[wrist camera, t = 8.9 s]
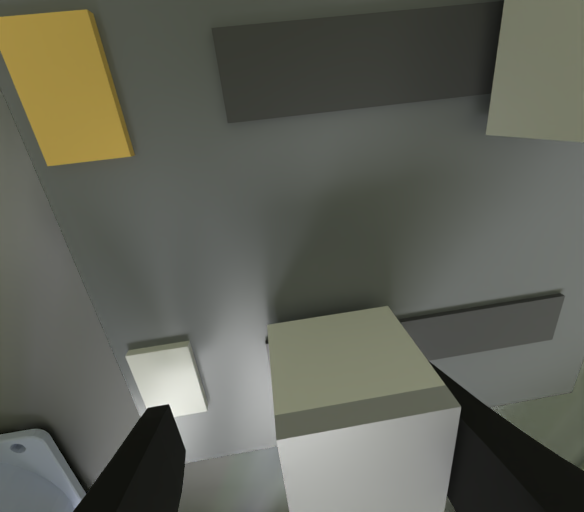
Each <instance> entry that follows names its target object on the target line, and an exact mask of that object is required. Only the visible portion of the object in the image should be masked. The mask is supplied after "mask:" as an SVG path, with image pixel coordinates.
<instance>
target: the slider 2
mask: <svg viewBox="0 0 584 512" xmlns="http://www.w3.org/2000/svg"><path fill="white" fill-rule="evenodd" d="M486 135H492V136H505V137H519V138H532V139H545V140H558V141H572V142H584V0H504V6H503V13H502V21H501V28H500V35H499V42H498V49H497V57H496V64H495V71H494V78H493V85H492V93H491V100H490V107H489V114H488V121H487V129H486Z"/></svg>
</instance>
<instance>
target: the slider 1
mask: <svg viewBox="0 0 584 512" xmlns="http://www.w3.org/2000/svg"><path fill="white" fill-rule="evenodd" d="M267 330H268V342H269V355H270V367H271V380H272V392H273V405H274V417H275V429H276V441H277V447H278V452H279V457H280V463H281V468H282V474H283V479H284V485H285V490H286V496H287V501H288V507H289V512H444V510H445V504H446V498H447V492H448V486H449V479H450V473H451V467H452V461H453V455H454V449H455V443H456V436H457V430H458V424H459V418H460V412H461V405H460V404H459V403H458V401H457V400H456V399H455V397H454V396H453V394H452V393H451V392H450V390H449V389H448V388H447V386H446V385H445V384H444V382H443V381H442V379H441V378H440V377H439V375H438V374H437V373H436V371H435V370H434V368H433V367H432V366H431V364H430V363H429V362H428V360H427V359H426V357H425V356H424V355H423V353H422V352H421V351H420V349H419V348H418V346H417V345H416V344H415V342H414V341H413V340H412V338H411V337H410V335H409V334H408V333H407V331H406V330H405V329H404V327H403V326H402V325H401V323H400V322H399V320H398V319H397V318H396V316H395V315H394V314H393V312H392V311H391V309H390V308H389V307H388V306H383V307H377V308H371V309H364V310H358V311H352V312H345V313H339V314H333V315H326V316H320V317H314V318H307V319H301V320H295V321H288V322H282V323H275V324H269V325H267Z"/></svg>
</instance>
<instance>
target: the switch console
mask: <svg viewBox="0 0 584 512" xmlns="http://www.w3.org/2000/svg"><path fill="white" fill-rule="evenodd" d="M503 6H504V0H0V89H1V91H2V93H3V96H4V98H5V100H6V103H7V105H8V107H9V110H10V112H11V114H12V117H13V119H14V121H15V124H16V126H17V128H18V131H19V133H20V135H21V138H22V140H23V143H24V145H25V147H26V150H27V152H28V154H29V157H30V159H31V161H32V164H33V166H34V168H35V171H36V173H37V175H38V178H39V180H40V182H41V185H42V187H43V189H44V192H45V194H46V197H47V199H48V201H49V204H50V206H51V208H52V211H53V213H54V215H55V218H56V220H57V222H58V225H59V227H60V229H61V232H62V234H63V236H64V239H65V241H66V243H67V246H68V248H69V251H70V253H71V255H72V258H73V260H74V262H75V265H76V267H77V269H78V272H79V274H80V276H81V279H82V281H83V283H84V286H85V288H86V290H87V293H88V295H89V297H90V300H91V302H92V305H93V307H94V309H95V312H96V314H97V316H98V319H99V321H100V323H101V326H102V328H103V330H104V333H105V335H106V337H107V340H108V342H109V344H110V347H111V349H112V351H113V354H114V356H115V359H116V361H117V363H118V366H119V368H120V370H121V373H122V375H123V377H124V380H125V382H126V384H127V387H128V389H129V391H130V394H131V396H132V398H133V401H134V403H135V405H136V408H137V410H138V413H139V415H140V417H141V416H142V415H143V413H144V412H145V411H146V409H147V408H149V407H155V406H161V405H166V404H169V405H170V408H171V411H172V413H173V416H174V419H175V422H176V424H177V427H178V430H179V433H180V435H181V438H182V441H183V444H184V446H185V449H186V456H185V463H191V462H196V461H202V460H207V459H212V458H218V457H223V456H229V455H234V454H240V453H245V452H251V451H256V450H261V449H267V448H272V447H277V441H276V429H275V417H274V405H273V392H272V380H271V367H270V355H269V342H268V330H267V325H269V324H275V323H282V322H288V321H295V320H301V319H307V318H314V317H320V316H326V315H333V314H339V313H345V312H352V311H358V310H364V309H371V308H377V307H383V306H388V307H389V308H390V309H391V311H392V312H393V314H394V315H395V316H396V318H397V319H398V320H399V322H400V323H401V325H402V326H403V327H404V329H405V330H406V331H407V333H408V334H409V335H410V337H411V338H412V340H413V341H414V342H415V344H416V345H417V346H418V348H419V349H420V351H421V352H422V353H423V355H424V356H425V357H426V359H427V360H428V361H430V362H431V363H432V364H434V365H435V366H436V367H437V368H439V369H440V370H441V371H442V372H444V373H445V374H446V375H448V376H449V377H450V378H451V379H453V380H454V381H455V382H456V383H458V384H459V385H460V386H462V387H463V388H464V389H465V390H467V391H468V392H469V393H471V394H472V395H473V396H475V397H476V398H477V399H478V400H480V401H481V402H482V403H484V404H485V405H487V406H488V407H489V408H490V407H495V406H501V405H506V404H512V403H517V402H523V401H528V400H533V399H539V398H544V397H550V396H555V395H561V394H566V393H571V392H572V391H573V388H574V385H575V383H576V380H577V377H578V374H579V371H580V368H581V366H582V363H583V360H584V142H572V141H558V140H545V139H532V138H519V137H505V136H492V135H486V129H487V121H488V114H489V107H490V100H491V93H492V85H493V78H494V71H495V64H496V57H497V49H498V42H499V35H500V28H501V21H502V13H503Z"/></svg>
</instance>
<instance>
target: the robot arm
mask: <svg viewBox="0 0 584 512" xmlns="http://www.w3.org/2000/svg"><path fill="white" fill-rule="evenodd" d="M428 362H429V363H430V364H431V366H432V367H433V368H434V370H435V371H436V373H437V374H438V375H439V377H440V378H441V379H442V381H443V382H444V384H445V385H446V386H447V388H448V389H449V390H450V392H451V393H452V394H453V396H454V397H455V399H456V400H457V401H458V403H459V404H460V405H461V412H460V418H459V424H458V430H457V436H456V443H455V449H454V455H453V461H452V467H451V473H450V479H449V486H448V492H447V496H448V498H449V500H450V502H451V503H452V505H453V507H454V509H455V511H456V512H584V471H583V470H581V469H579V468H578V467H576V466H575V465H573V464H571V463H570V462H568V461H566V460H565V459H563V458H562V457H560V456H558V455H557V454H555V453H554V452H552V451H551V450H549V449H548V448H546V447H545V446H543V445H542V444H540V443H539V442H537V441H536V440H534V439H533V438H531V437H530V436H528V435H527V434H525V433H524V432H523V431H521V430H520V429H518V428H517V427H515V426H514V425H512V424H511V423H510V422H508V421H507V420H505V419H504V418H503V417H501V416H500V415H499V414H497V413H496V412H495V411H493V410H492V409H491V408H489V407H488V406H487V405H485V404H484V403H482V402H481V401H480V400H478V399H477V398H476V397H475V396H473V395H472V394H471V393H469V392H468V391H467V390H465V389H464V388H463V387H462V386H460V385H459V384H458V383H456V382H455V381H454V380H453V379H451V378H450V377H449V376H448V375H446V374H445V373H444V372H442V371H441V370H440V369H439V368H437V367H436V366H435V365H434V364H432V363H431V362H430V361H428ZM185 456H186V449H185V446H184V444H183V441H182V438H181V435H180V433H179V430H178V427H177V424H176V422H175V419H174V416H173V413H172V411H171V408H170V405H169V404H166V405H161V406H155V407H149V408H147V409H146V411H145V412H144V413H143V415H142V416H141V418H140V419H139V420H138V422H137V423H136V425H135V426H134V428H133V429H132V431H131V432H130V433H129V435H128V436H127V438H126V439H125V441H124V442H123V444H122V445H121V446H120V448H119V449H118V451H117V452H116V454H115V455H114V456H113V458H112V459H111V461H110V462H109V463H108V465H107V466H106V468H105V469H104V470H103V472H102V473H101V474H100V476H99V477H98V479H97V480H96V481H95V483H94V484H93V485H92V487H91V488H90V490H89V491H88V492H87V494H86V493H85V491H84V490H83V488H82V486H81V485H80V483H79V481H78V480H77V478H76V477H75V475H74V473H73V472H72V470H71V468H70V467H69V465H68V463H67V462H66V460H65V459H64V457H63V455H62V454H61V452H60V450H59V449H58V447H57V446H56V444H55V442H54V441H53V439H52V437H51V436H50V434H49V433H48V432H46V431H44V430H42V429H29V430H23V431H17V432H12V433H6V434H0V512H178V507H179V503H180V498H181V493H182V485H183V476H184V467H185Z"/></svg>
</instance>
